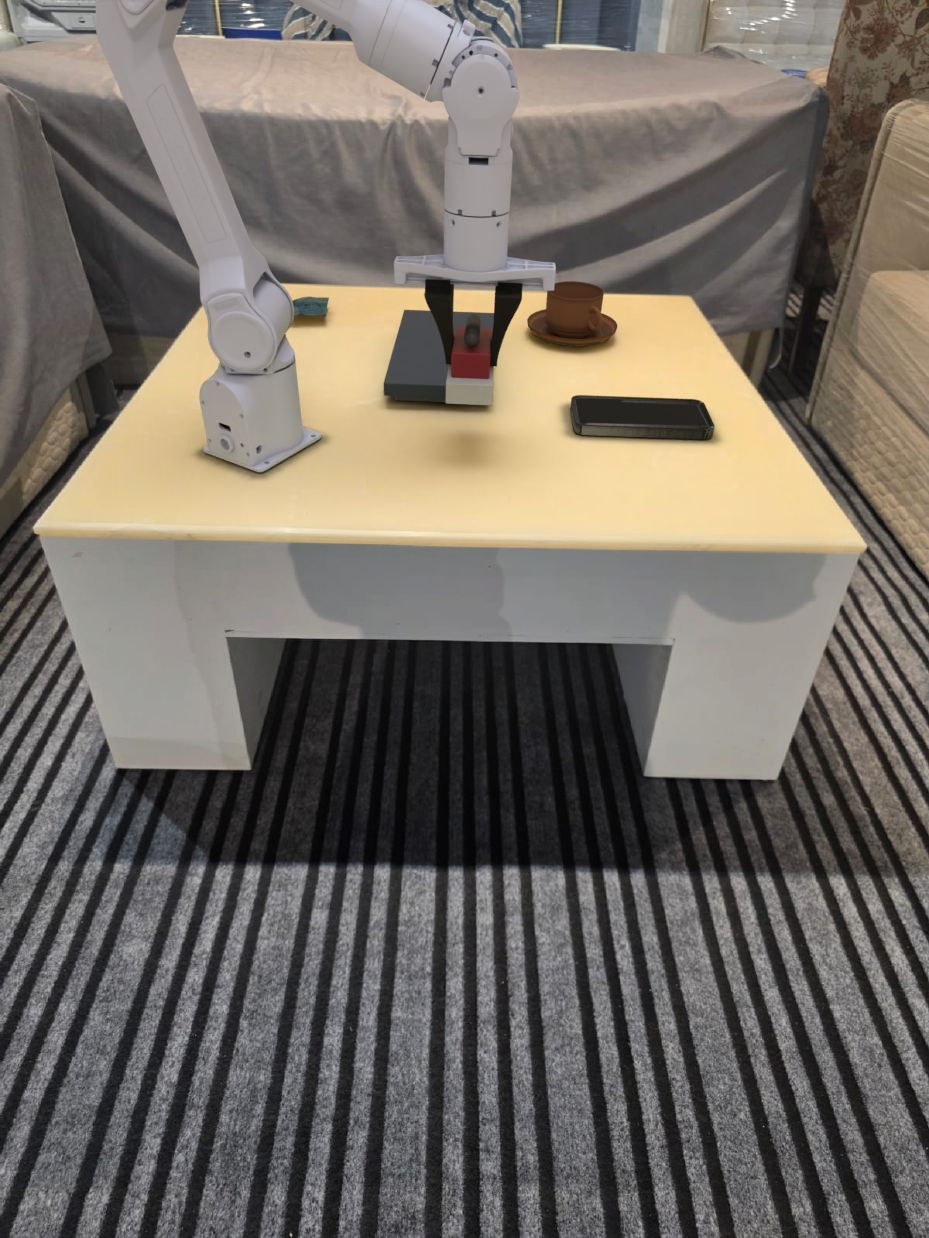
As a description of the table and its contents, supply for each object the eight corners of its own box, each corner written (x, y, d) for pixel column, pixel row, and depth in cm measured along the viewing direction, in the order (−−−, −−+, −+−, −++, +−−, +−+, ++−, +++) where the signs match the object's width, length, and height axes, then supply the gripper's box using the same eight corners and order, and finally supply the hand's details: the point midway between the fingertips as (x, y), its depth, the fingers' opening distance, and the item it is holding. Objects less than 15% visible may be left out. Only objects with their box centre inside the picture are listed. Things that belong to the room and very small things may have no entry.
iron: (492, 405, 79) (495, 341, 75) (445, 403, 79) (446, 339, 75) (494, 368, 86) (497, 307, 82) (451, 366, 86) (452, 305, 82)
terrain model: (232, 327, 112) (230, 312, 111) (238, 310, 118) (236, 296, 117) (329, 325, 113) (328, 311, 112) (329, 309, 120) (328, 295, 118)
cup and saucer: (632, 337, 113) (639, 290, 109) (581, 361, 106) (587, 312, 102) (561, 315, 119) (565, 270, 115) (508, 336, 112) (510, 289, 108)
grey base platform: (490, 412, 94) (492, 387, 92) (384, 408, 94) (383, 383, 92) (493, 335, 112) (494, 312, 111) (404, 332, 113) (404, 309, 111)
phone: (716, 430, 89) (575, 425, 89) (714, 440, 90) (574, 434, 90) (702, 399, 95) (570, 394, 95) (700, 408, 96) (569, 403, 96)
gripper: (558, 202, 75) (545, 349, 84) (398, 195, 76) (401, 343, 84) (561, 221, 70) (547, 377, 78) (389, 215, 70) (393, 370, 79)
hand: (471, 361), depth 81 cm, fingers closed on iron, 3 cm apart
